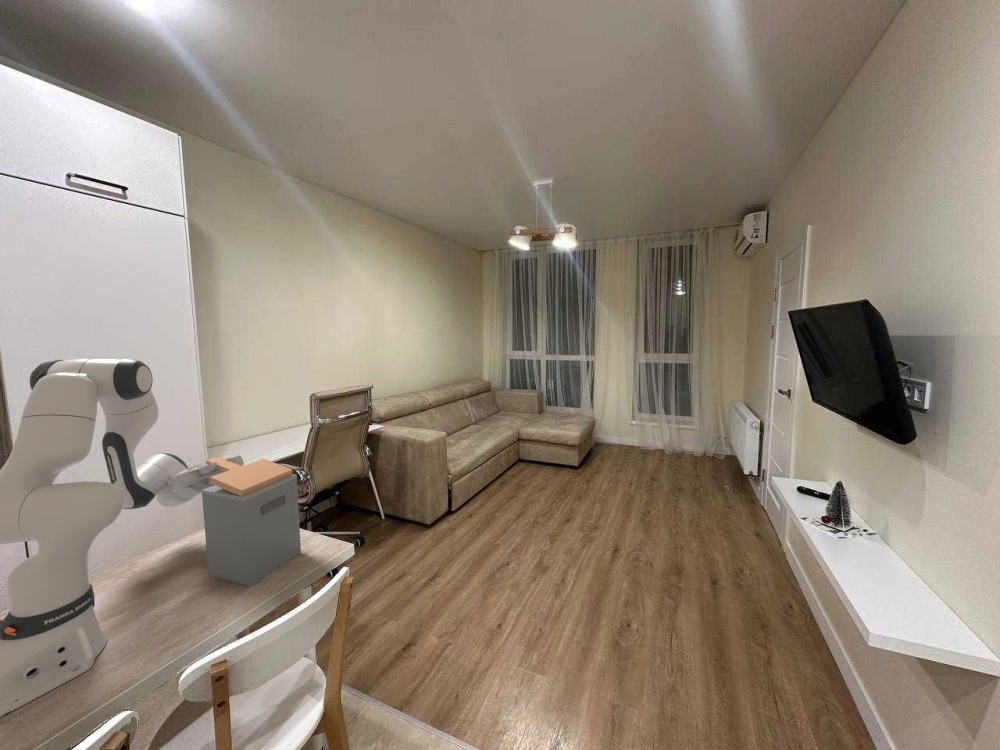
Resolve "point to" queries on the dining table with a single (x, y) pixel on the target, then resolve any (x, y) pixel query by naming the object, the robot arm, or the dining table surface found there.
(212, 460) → the lid
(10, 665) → the robot arm
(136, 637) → the dining table surface
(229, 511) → the crate
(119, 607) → the dining table surface
